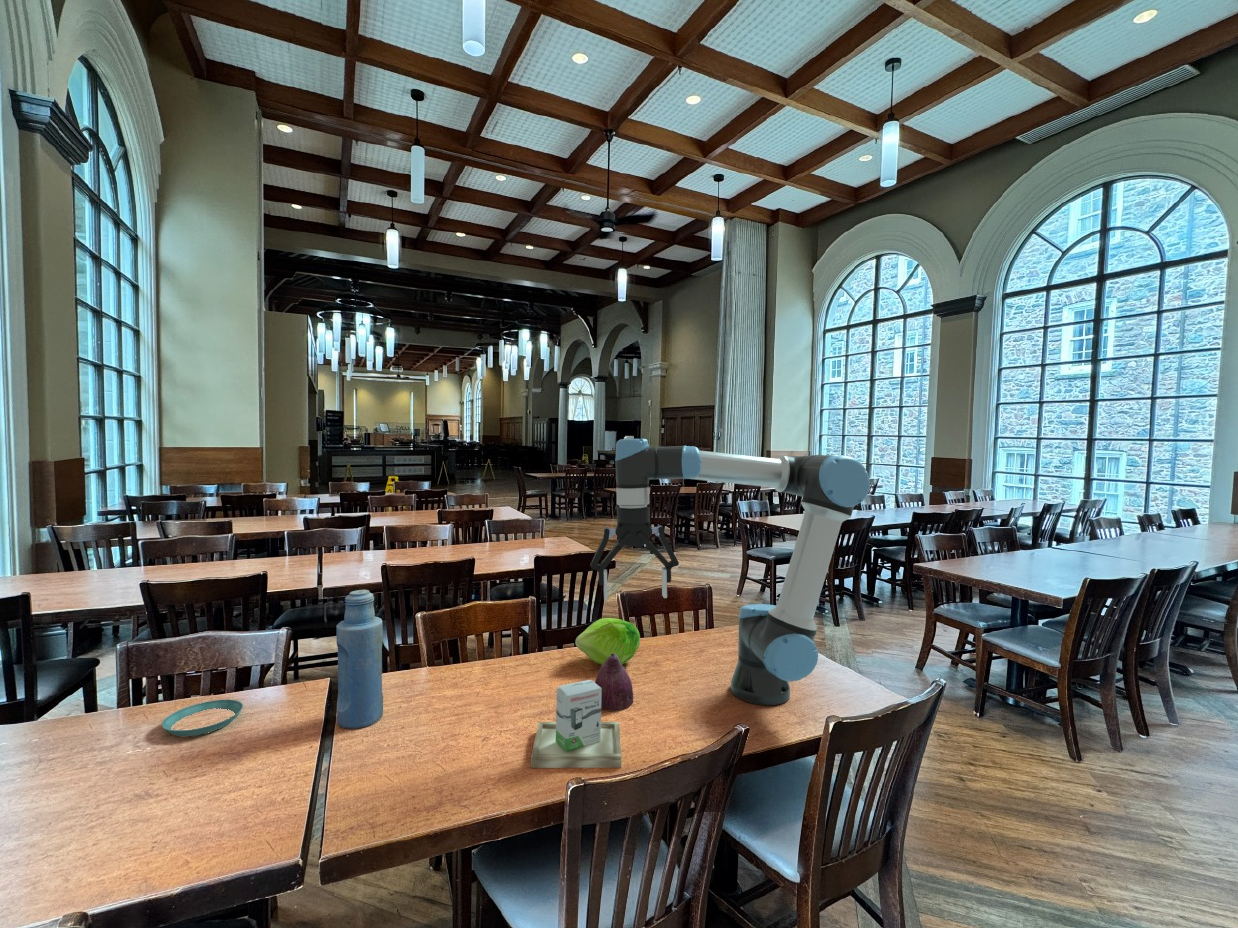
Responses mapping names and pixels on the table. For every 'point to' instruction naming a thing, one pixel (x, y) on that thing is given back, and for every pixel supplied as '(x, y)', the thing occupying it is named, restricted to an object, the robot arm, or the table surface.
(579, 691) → the ink box
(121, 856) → the table surface
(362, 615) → the bottle
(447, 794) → the table surface
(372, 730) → the table surface
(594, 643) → the lettuce
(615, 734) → the tray
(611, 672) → the vegetable
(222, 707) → the teal round ring piece
